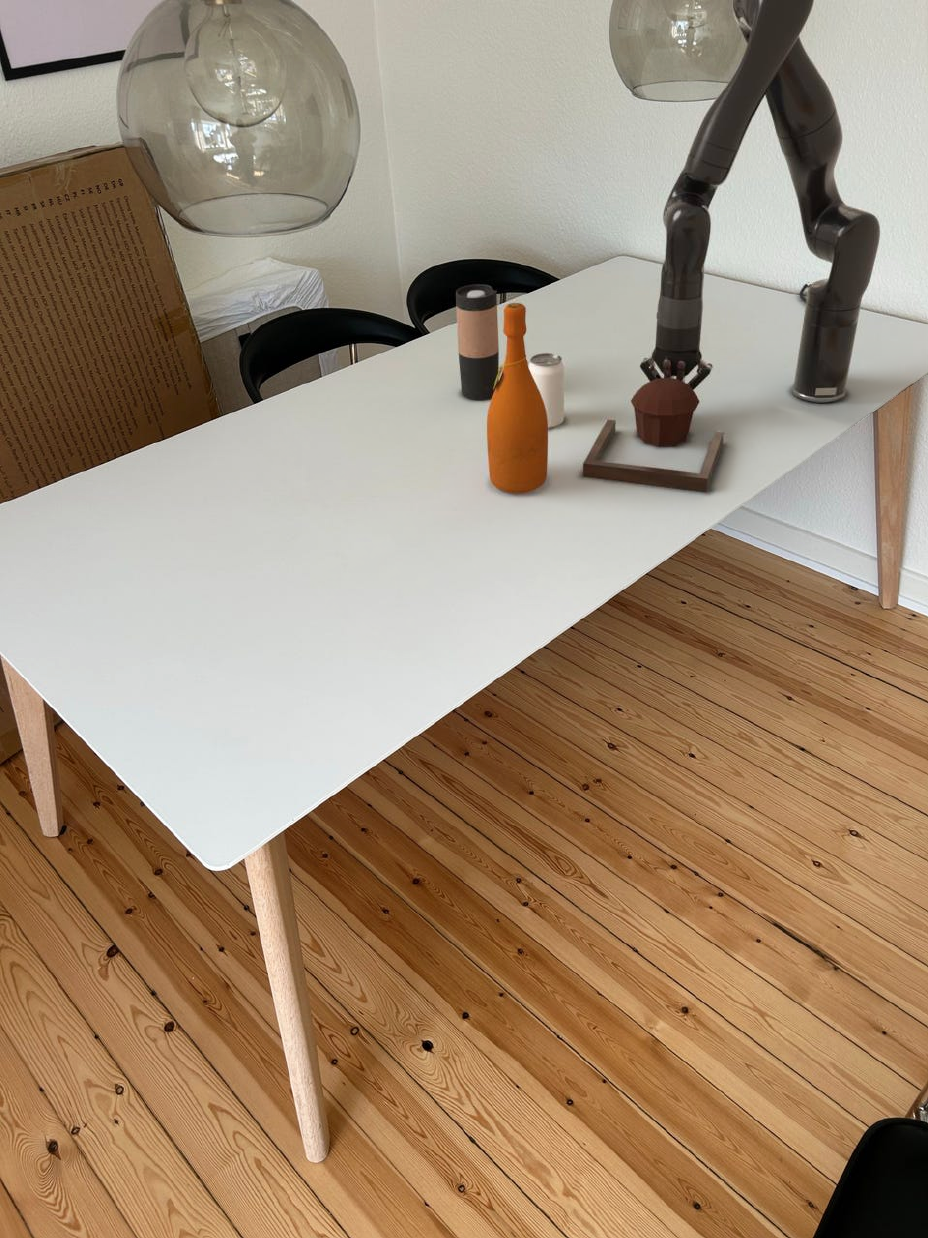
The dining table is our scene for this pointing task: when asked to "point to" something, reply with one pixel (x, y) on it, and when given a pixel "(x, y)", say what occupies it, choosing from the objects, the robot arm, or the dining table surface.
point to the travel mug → (477, 340)
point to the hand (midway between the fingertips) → (672, 412)
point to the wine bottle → (517, 416)
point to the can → (550, 384)
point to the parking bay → (648, 474)
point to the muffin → (664, 411)
